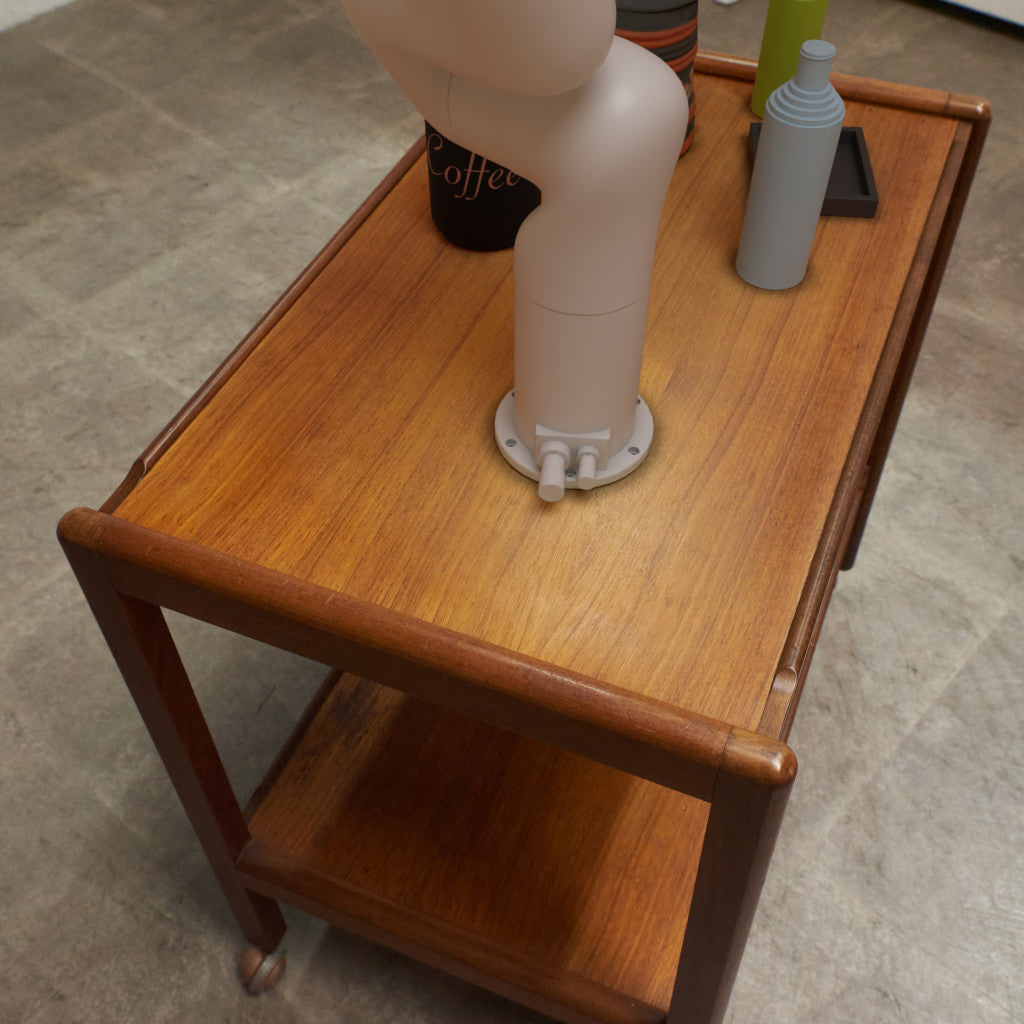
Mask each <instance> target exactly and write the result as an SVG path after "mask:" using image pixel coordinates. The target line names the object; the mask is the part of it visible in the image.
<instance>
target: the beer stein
mask: <svg viewBox="0 0 1024 1024" xmlns="http://www.w3.org/2000/svg"><path fill="white" fill-rule="evenodd" d="M615 3H616V28H615V32H614V35H616V36H618V37H621V38H624V39H626V40H628V41H631V42H633V43H635V44H637V45H639V46H641V47H643V48H645V49H646V50H648V51H650V52H651V53H653V54H655V55H656V56H658V57H659V58H660V59H661V60H663V61H664V62H665V63H666V64H667V65H668V66H669V67H670V68H671V69H672V70H673V71H674V72H675V74H676V75H677V76H678V78H679V79H680V81H681V83H682V85H683V87H684V89H685V92H686V95H687V99H688V107H689V116H688V124H687V130H686V135H685V138H684V142H683V145H682V149H681V152H680V155H679V157H678V159H679V158H681V157H682V156H683V155H684V154H686V153H687V151H688V150H689V149H690V147H692V144H693V141H694V138H695V120H696V115H695V114H696V107H697V96H696V93H695V91H694V67H695V65H694V64H695V63H694V60H695V58H696V56H697V54H698V51H699V50H698V49H699V45H698V44H699V32H698V31H699V30H698V29H699V28H698V27H699V26H698V25H699V24H698V19H699V17H698V15H699V0H615Z"/></svg>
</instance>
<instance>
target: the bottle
mask: <svg viewBox="0 0 1024 1024" xmlns="http://www.w3.org/2000/svg"><path fill="white" fill-rule="evenodd" d="M836 53H837V48H836V46H835V45H834V44H833V43H832V42H829V41H827V40H823V39H820V40H809V41H806V42H804V43H803V45H802V47H801V48H800V57H799V62H798V67H797V72H796V76H794V77H793V78H792V79H791V80H789V81H787V82H786V83H785V84H783V85H781V86H780V87H779V88H778V89H776V90H775V91H773V92H772V94H771V96H770V97H769V98H768V100H767V101H766V106H765V111H764V116H763V119H762V121H761V123H762V127H761V132H760V137H759V143H758V148H757V153H756V159H755V164H754V169H753V174H752V177H751V181H750V186H749V191H748V196H747V202H746V205H745V213H744V217H743V223H742V228H741V233H740V237H739V243H738V249H737V254H736V259H735V266H734V267H735V271H736V273H737V275H738V276H739V277H740V278H741V279H742V280H743V281H744V282H746V283H747V284H749V285H751V286H753V287H756V288H759V289H762V290H770V291H781V290H787V289H791V288H793V287H795V286H798V285H799V284H800V283H801V282H802V281H803V280H804V278H805V275H806V272H807V267H808V263H809V260H810V255H811V252H812V248H813V244H814V240H815V235H816V232H817V228H818V224H819V219H820V216H821V215H820V212H821V208H822V204H823V200H824V196H825V192H826V188H827V184H828V180H829V176H830V172H831V169H832V165H833V161H834V157H835V153H836V149H837V145H838V141H839V137H840V133H841V129H842V126H843V124H844V121H845V116H846V108H845V102H844V100H843V98H842V97H841V96H840V94H839V92H837V90H836V88H835V87H834V85H832V83H831V81H830V76H831V71H832V67H833V63H834V59H835V56H836Z"/></svg>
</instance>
